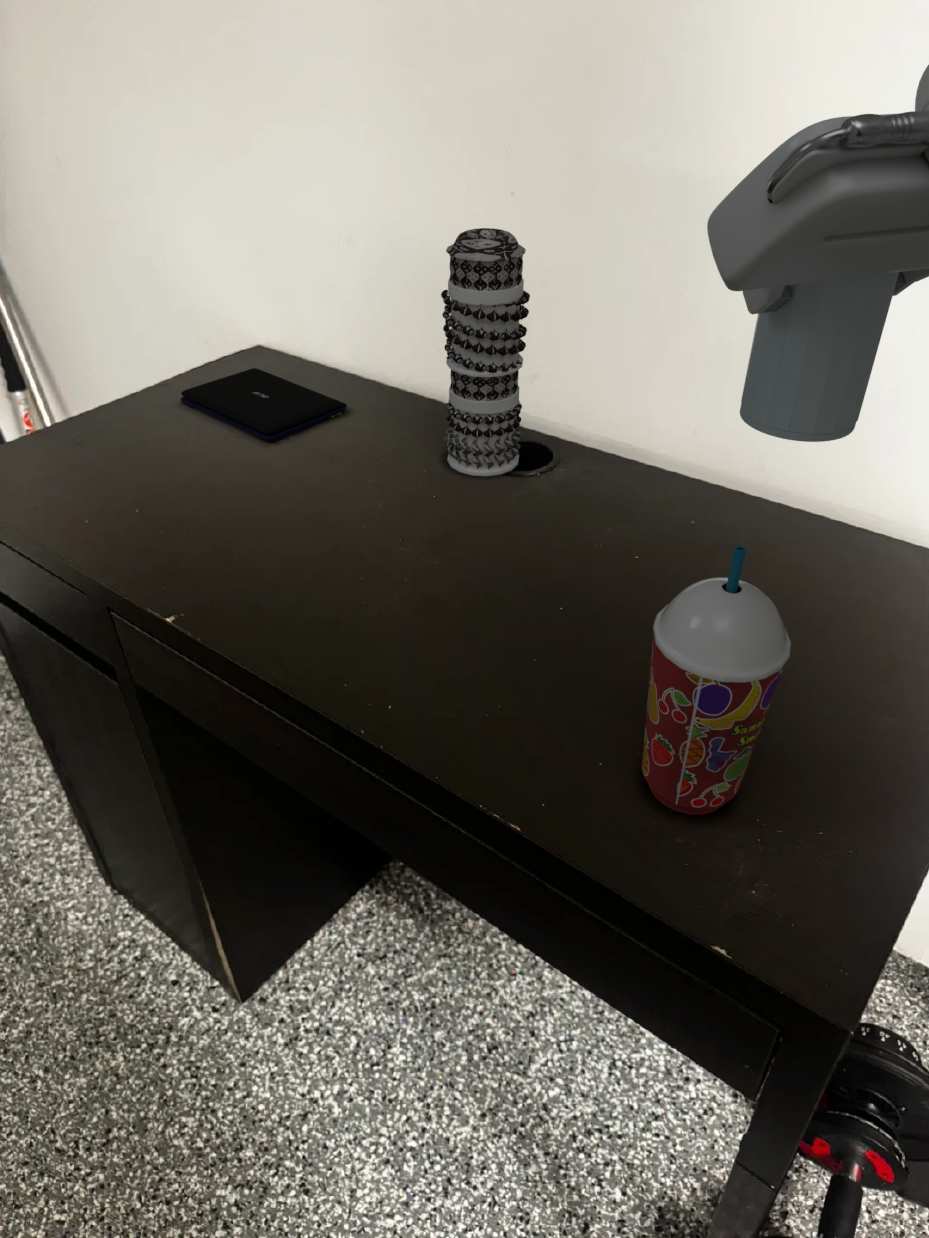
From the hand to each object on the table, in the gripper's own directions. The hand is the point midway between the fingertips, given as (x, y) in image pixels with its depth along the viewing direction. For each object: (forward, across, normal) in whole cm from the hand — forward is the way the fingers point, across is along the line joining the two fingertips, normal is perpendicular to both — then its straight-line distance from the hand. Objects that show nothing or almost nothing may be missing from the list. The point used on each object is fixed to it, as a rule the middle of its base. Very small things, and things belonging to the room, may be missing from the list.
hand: (818, 293), depth 49 cm
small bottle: (+5, 0, -5) cm, 7 cm away
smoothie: (+21, -5, -26) cm, 34 cm away
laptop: (+74, -21, +28) cm, 82 cm away
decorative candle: (+58, 0, +11) cm, 59 cm away
